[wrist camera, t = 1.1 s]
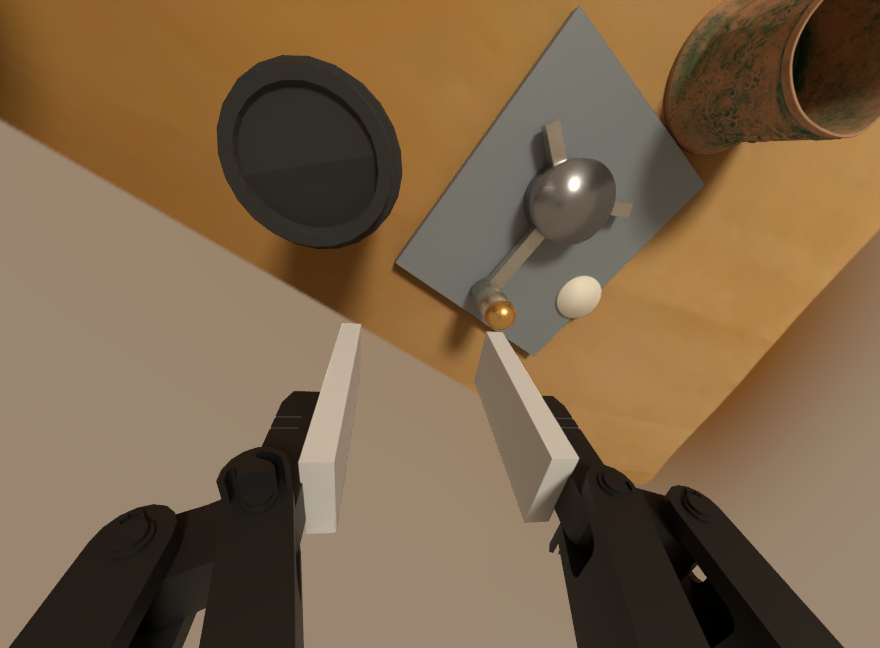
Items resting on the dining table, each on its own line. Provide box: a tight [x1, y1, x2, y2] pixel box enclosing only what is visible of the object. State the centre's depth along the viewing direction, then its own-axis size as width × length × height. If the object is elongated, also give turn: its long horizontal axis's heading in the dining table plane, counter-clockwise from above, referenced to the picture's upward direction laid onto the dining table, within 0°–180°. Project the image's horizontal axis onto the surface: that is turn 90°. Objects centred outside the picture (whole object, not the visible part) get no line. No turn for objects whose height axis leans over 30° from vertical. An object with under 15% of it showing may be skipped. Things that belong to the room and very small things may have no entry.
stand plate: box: [395, 6, 705, 357], centre depth 31 cm, size 21×24×2 cm
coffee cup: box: [217, 55, 402, 249], centre depth 20 cm, size 8×8×15 cm
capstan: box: [471, 119, 633, 330], centre depth 28 cm, size 16×12×7 cm
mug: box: [665, 0, 880, 155], centre depth 21 cm, size 12×18×12 cm, turn 174°
